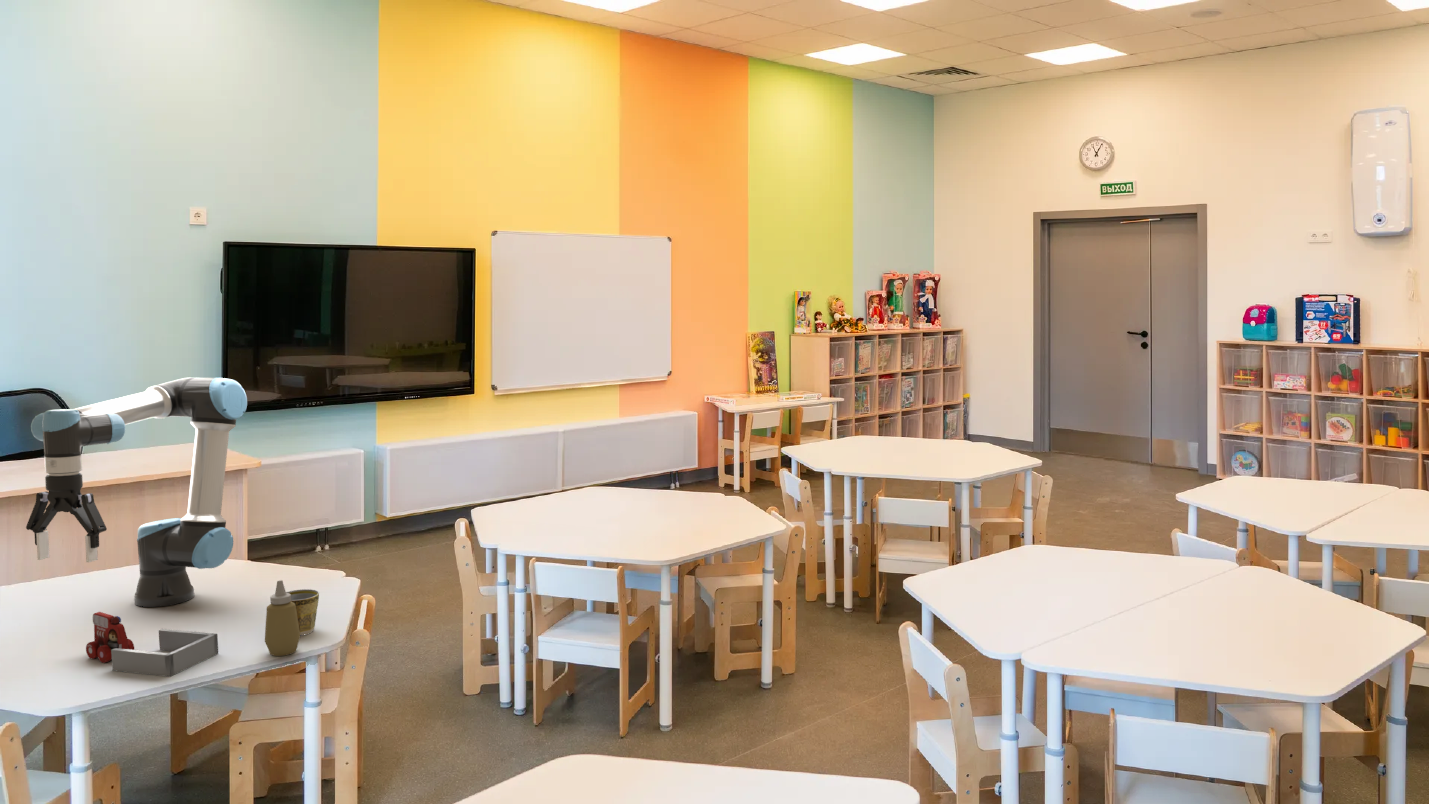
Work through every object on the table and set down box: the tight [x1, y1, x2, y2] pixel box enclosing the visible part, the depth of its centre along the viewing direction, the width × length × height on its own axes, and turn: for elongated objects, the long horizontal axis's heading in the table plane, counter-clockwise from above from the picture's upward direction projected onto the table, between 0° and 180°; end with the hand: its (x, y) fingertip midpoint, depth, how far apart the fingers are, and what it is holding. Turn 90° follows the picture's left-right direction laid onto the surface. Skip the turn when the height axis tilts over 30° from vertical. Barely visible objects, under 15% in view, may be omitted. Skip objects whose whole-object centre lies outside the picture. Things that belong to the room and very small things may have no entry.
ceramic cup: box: [286, 588, 320, 636], centre depth 260 cm, size 13×10×10 cm
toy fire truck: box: [85, 611, 135, 664], centre depth 241 cm, size 7×12×10 cm, turn 59°
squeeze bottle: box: [264, 579, 301, 657], centre depth 243 cm, size 8×8×18 cm
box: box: [111, 628, 219, 678], centre depth 238 cm, size 16×15×5 cm
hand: (67, 560), depth 242 cm, fingers open, 13 cm apart
